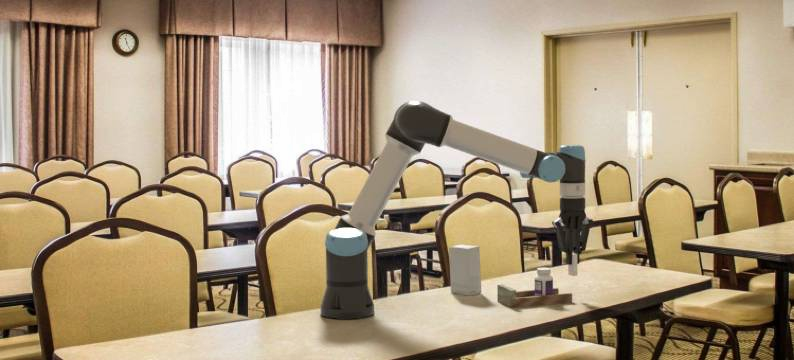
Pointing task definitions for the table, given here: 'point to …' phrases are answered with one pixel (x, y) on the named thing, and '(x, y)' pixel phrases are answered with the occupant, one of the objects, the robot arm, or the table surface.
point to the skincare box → (465, 269)
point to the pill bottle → (543, 282)
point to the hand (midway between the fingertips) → (572, 274)
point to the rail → (529, 297)
